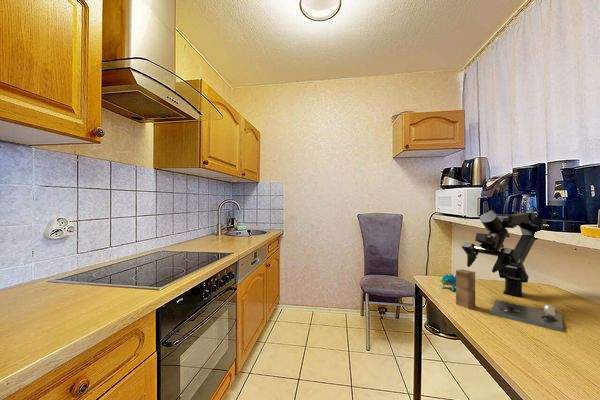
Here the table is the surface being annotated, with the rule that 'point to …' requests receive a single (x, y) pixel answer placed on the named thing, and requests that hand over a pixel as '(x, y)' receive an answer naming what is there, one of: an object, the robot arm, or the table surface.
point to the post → (465, 288)
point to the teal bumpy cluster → (449, 281)
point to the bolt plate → (529, 314)
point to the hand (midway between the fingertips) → (479, 269)
